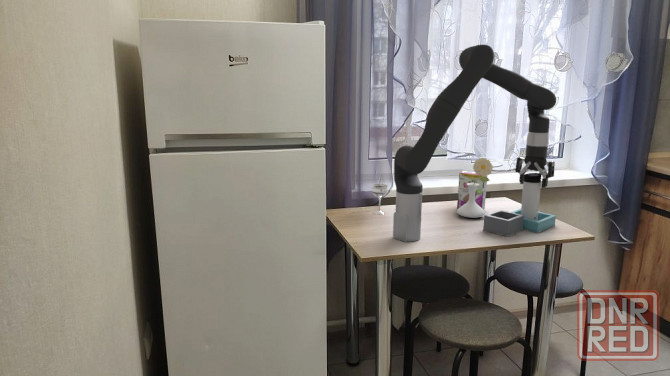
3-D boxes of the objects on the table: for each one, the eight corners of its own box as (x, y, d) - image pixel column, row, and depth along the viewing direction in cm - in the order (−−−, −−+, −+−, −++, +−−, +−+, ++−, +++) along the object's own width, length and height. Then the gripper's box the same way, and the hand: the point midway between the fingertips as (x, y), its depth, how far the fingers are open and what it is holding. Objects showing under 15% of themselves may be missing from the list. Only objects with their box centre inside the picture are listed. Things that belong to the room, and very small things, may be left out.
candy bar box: (456, 208, 207) (458, 172, 203) (460, 206, 211) (462, 170, 207) (481, 212, 201) (484, 175, 197) (485, 209, 205) (487, 173, 202)
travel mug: (539, 225, 180) (544, 174, 176) (521, 224, 181) (525, 174, 177) (536, 220, 186) (540, 171, 182) (518, 220, 187) (522, 171, 183)
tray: (537, 232, 175) (538, 222, 174) (503, 224, 185) (504, 214, 184) (554, 225, 183) (555, 215, 182) (521, 217, 194) (522, 208, 193)
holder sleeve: (507, 236, 170) (508, 221, 169) (483, 230, 178) (484, 214, 176) (522, 230, 177) (524, 215, 176) (498, 224, 185) (500, 209, 183)
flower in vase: (455, 218, 192) (458, 158, 187) (458, 211, 203) (461, 154, 197) (488, 221, 188) (493, 160, 182) (489, 214, 198) (494, 156, 193)
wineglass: (388, 215, 197) (388, 187, 194) (372, 214, 197) (372, 187, 195) (386, 210, 204) (387, 183, 201) (371, 210, 204) (371, 183, 201)
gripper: (514, 143, 180) (510, 184, 183) (550, 147, 169) (546, 190, 173) (524, 141, 184) (520, 181, 188) (560, 145, 174) (555, 187, 178)
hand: (532, 185), depth 180 cm, fingers open, 8 cm apart
